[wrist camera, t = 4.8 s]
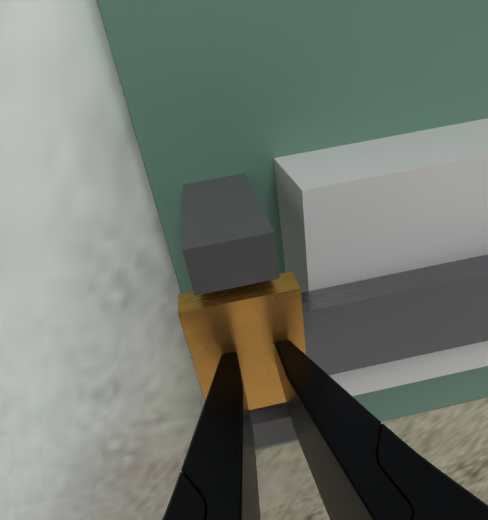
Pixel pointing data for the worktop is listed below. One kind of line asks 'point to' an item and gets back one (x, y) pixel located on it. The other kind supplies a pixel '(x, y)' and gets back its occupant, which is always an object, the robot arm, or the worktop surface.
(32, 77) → the worktop surface
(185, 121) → the board
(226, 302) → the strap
